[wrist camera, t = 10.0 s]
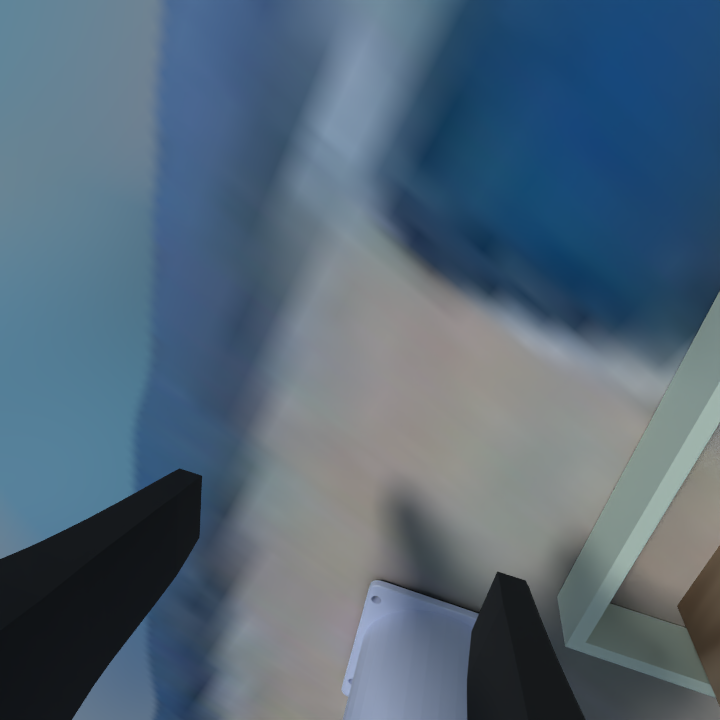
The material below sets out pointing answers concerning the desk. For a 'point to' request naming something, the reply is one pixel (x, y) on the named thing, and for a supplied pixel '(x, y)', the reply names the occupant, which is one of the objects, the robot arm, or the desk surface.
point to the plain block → (705, 619)
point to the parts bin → (646, 528)
